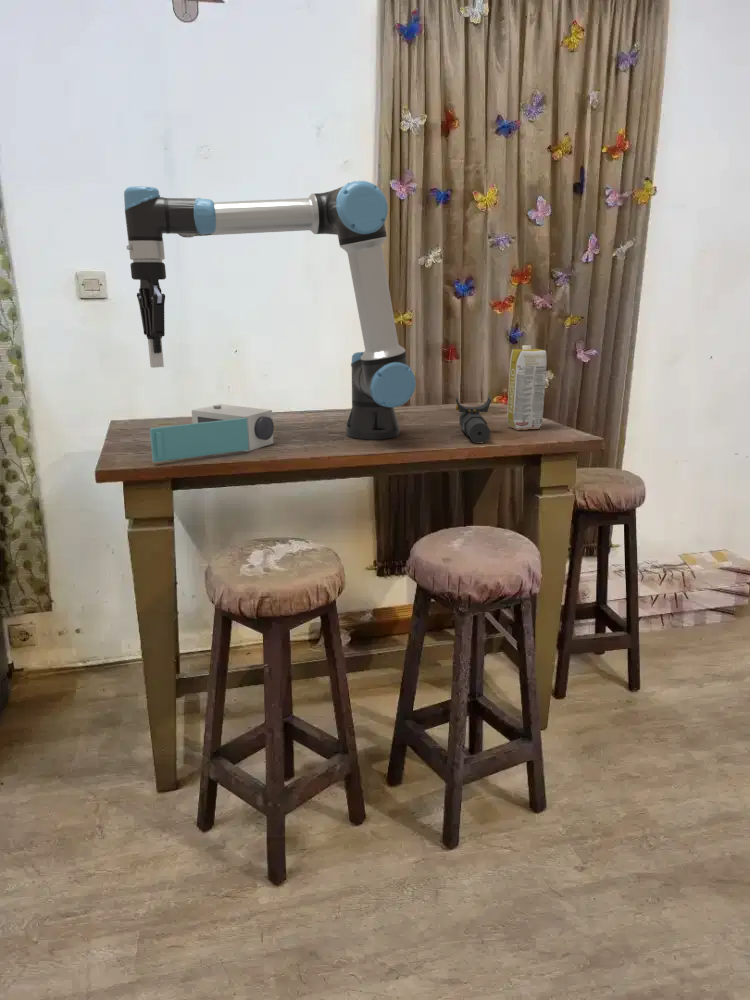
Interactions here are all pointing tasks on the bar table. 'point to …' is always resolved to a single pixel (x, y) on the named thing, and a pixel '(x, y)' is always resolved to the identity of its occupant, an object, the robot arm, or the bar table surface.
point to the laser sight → (474, 421)
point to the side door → (199, 439)
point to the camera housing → (257, 418)
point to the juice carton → (526, 387)
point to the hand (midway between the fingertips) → (157, 366)
